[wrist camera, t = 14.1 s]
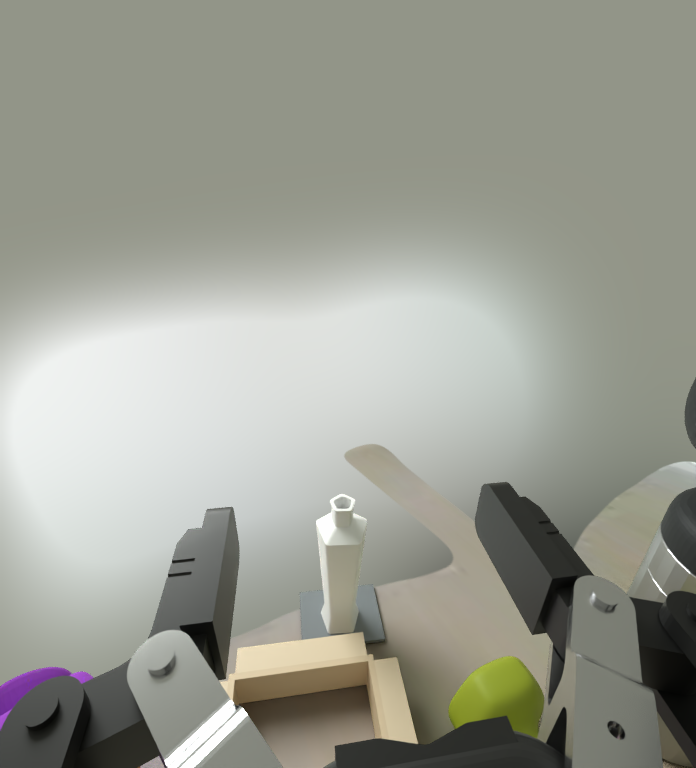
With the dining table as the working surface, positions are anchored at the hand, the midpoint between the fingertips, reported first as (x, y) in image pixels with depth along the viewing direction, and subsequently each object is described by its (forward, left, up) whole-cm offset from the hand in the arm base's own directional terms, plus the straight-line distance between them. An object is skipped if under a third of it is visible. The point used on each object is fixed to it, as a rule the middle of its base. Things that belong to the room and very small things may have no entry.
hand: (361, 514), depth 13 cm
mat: (-2, -17, -30) cm, 34 cm away
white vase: (-2, -17, -30) cm, 34 cm away
